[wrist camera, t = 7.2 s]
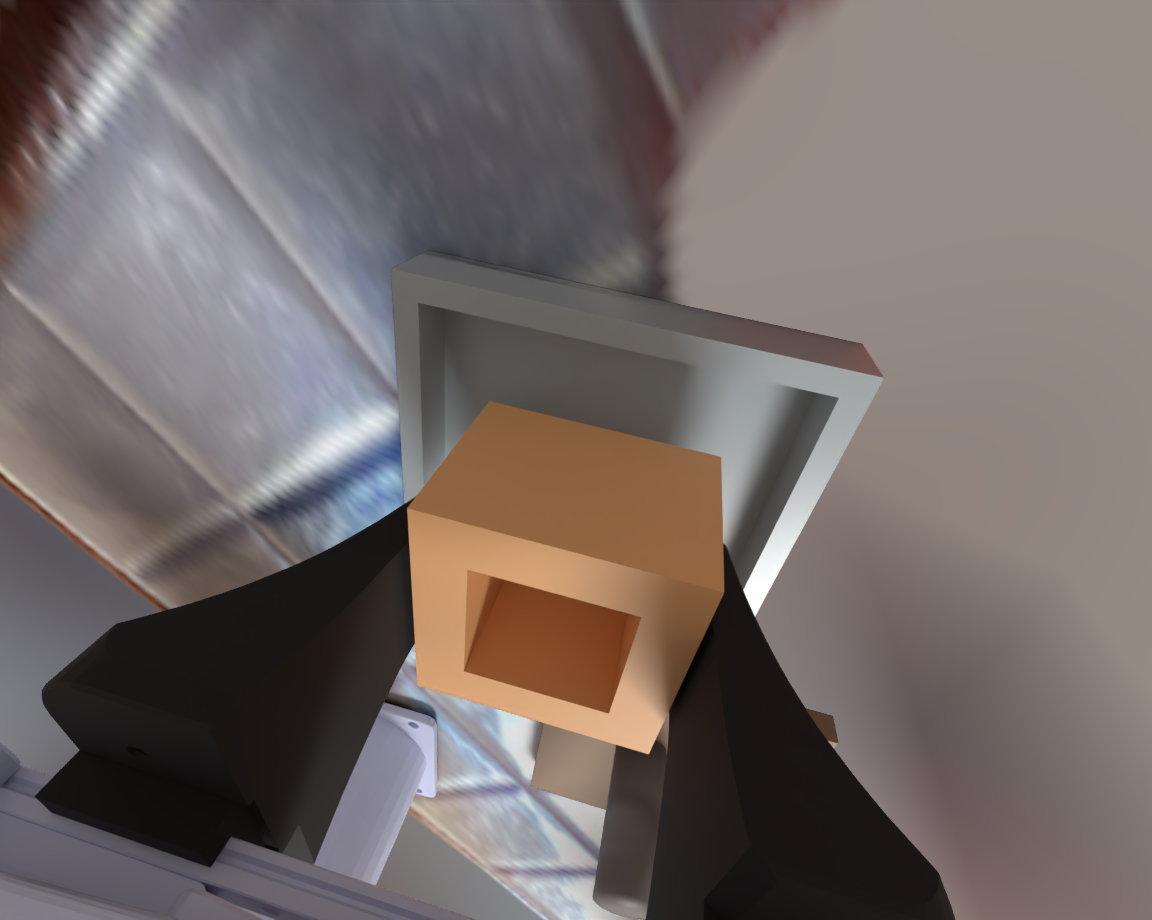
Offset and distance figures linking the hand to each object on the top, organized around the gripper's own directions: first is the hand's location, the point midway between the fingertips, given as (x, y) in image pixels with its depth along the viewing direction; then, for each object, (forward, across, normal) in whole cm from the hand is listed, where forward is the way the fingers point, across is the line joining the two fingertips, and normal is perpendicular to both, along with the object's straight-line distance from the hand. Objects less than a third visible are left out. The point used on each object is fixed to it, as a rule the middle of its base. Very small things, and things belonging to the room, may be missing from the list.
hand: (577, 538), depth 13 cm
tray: (+3, 0, 0) cm, 3 cm away
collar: (+1, 0, 0) cm, 1 cm away
